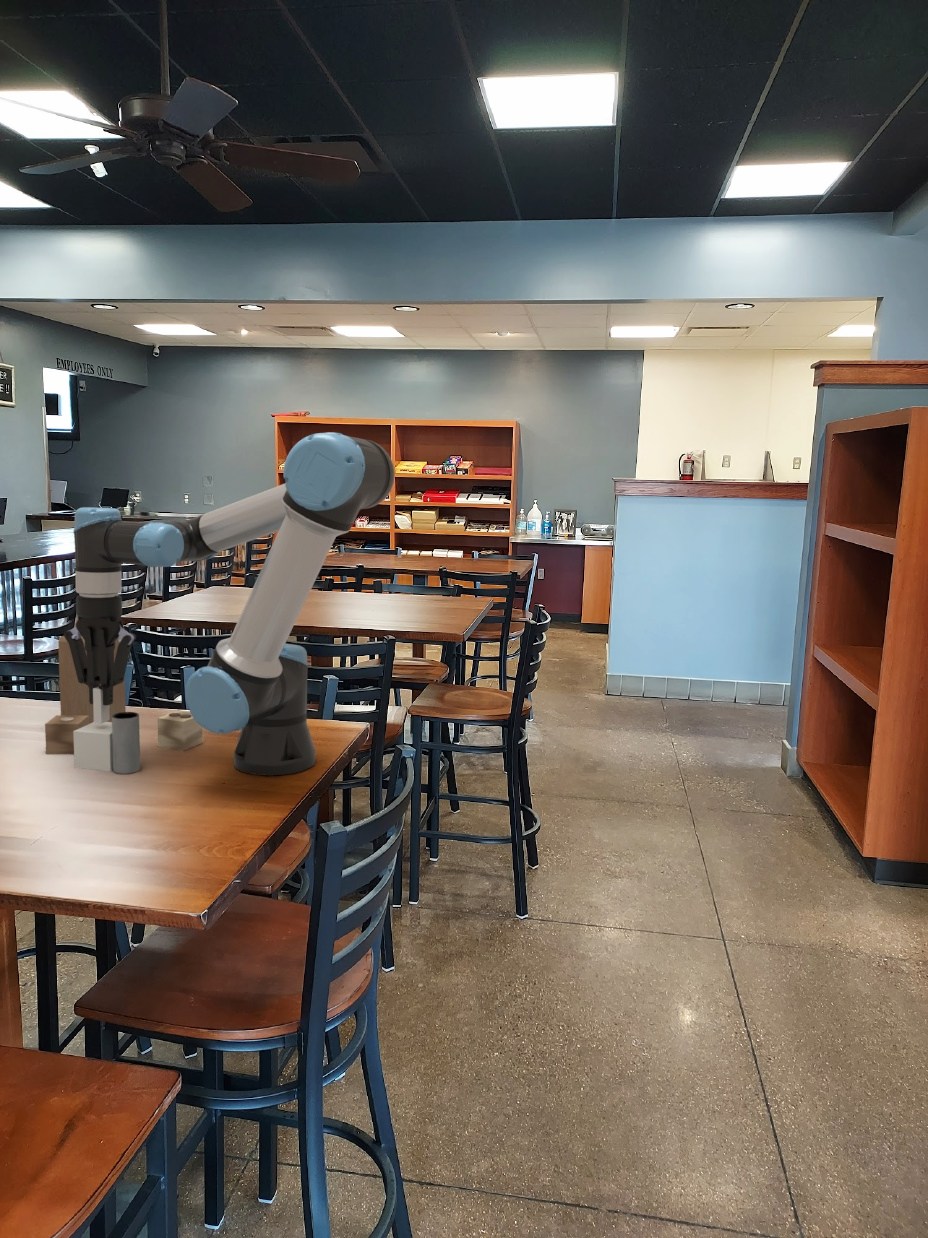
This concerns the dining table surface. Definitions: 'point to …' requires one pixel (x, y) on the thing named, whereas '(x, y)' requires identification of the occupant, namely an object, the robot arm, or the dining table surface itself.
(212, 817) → the dining table surface
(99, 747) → the grey block
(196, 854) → the dining table surface
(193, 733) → the maple block
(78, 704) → the block
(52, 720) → the walnut block
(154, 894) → the dining table surface
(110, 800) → the dining table surface
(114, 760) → the planter
